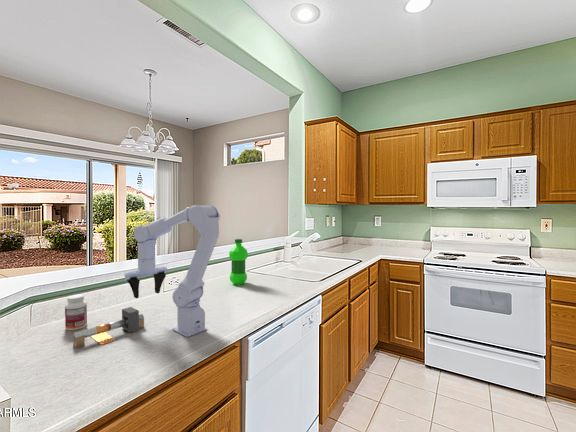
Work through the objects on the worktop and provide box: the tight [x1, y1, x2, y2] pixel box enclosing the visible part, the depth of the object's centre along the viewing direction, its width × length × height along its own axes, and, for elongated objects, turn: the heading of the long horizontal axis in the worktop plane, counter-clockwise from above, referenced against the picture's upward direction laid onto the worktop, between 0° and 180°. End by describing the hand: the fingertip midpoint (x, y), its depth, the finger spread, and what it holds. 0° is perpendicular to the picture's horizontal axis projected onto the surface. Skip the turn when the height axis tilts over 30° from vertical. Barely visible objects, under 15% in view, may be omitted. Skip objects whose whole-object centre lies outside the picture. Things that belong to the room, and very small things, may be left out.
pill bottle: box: [64, 294, 88, 331], centre depth 101 cm, size 6×6×11 cm
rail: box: [72, 313, 145, 350], centre depth 95 cm, size 20×9×4 cm, turn 142°
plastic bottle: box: [228, 238, 249, 286], centre depth 161 cm, size 10×10×25 cm
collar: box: [121, 306, 140, 333], centre depth 99 cm, size 3×6×7 cm, turn 52°
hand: (147, 295), depth 106 cm, fingers open, 7 cm apart
